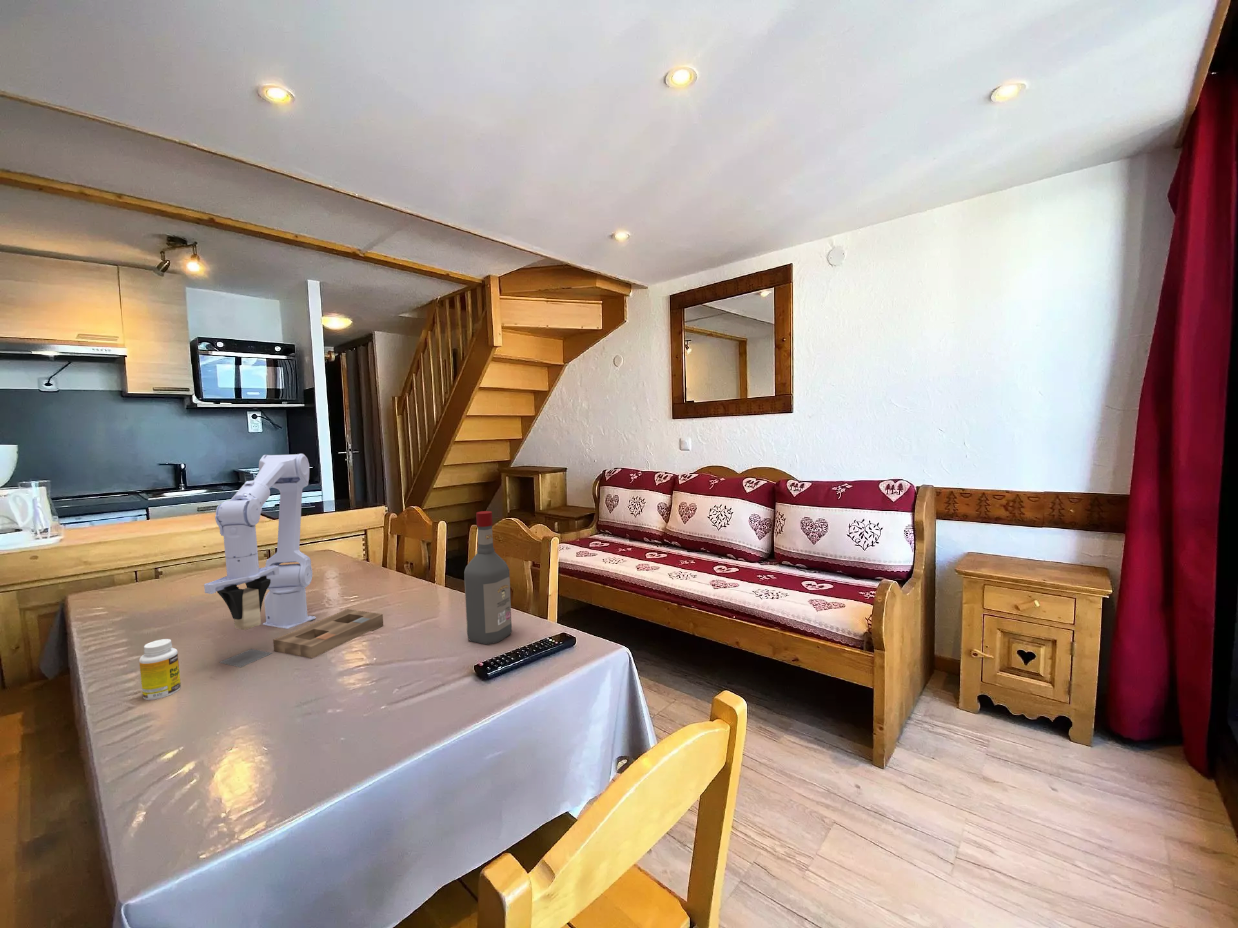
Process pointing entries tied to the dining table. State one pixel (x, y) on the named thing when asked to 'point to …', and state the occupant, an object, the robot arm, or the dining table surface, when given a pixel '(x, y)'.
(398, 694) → the dining table surface
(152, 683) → the supplement bottle
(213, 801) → the dining table surface
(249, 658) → the mat
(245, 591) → the birch plug
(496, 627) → the liquor
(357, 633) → the socket board
